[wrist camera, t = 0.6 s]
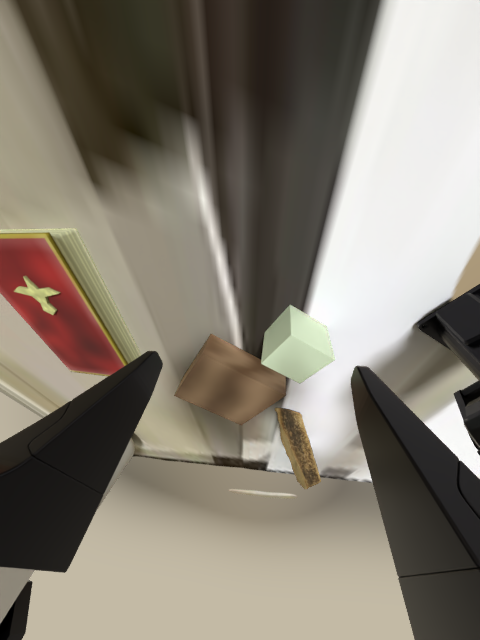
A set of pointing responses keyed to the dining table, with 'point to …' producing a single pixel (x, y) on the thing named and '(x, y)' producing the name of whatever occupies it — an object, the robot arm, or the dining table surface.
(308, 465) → the brown tan chunky block
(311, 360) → the green cube
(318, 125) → the dining table surface
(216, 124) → the dining table surface
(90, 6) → the dining table surface
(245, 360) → the walnut block
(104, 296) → the hardcover book
